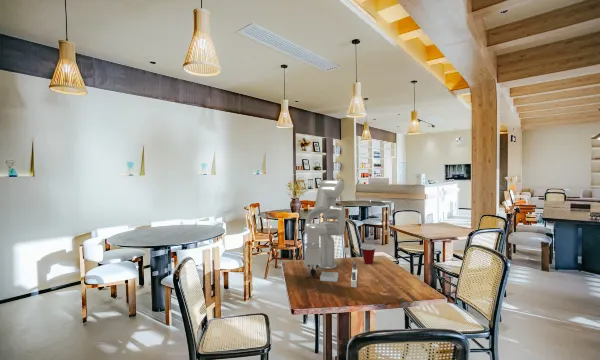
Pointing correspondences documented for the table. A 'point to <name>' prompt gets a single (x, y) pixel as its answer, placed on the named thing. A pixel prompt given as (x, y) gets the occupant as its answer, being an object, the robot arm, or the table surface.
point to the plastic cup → (368, 253)
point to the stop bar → (354, 276)
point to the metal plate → (329, 276)
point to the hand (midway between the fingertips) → (313, 275)
